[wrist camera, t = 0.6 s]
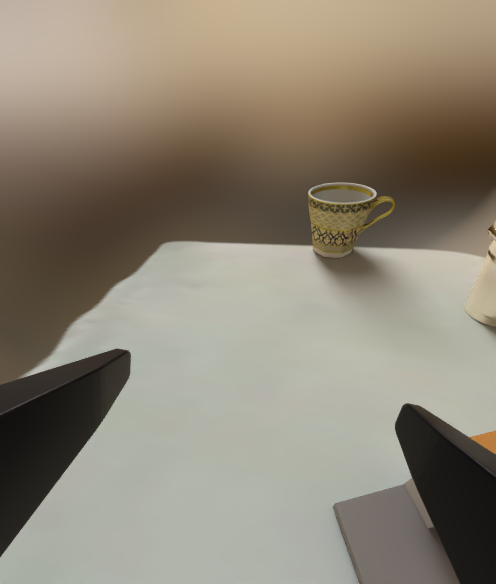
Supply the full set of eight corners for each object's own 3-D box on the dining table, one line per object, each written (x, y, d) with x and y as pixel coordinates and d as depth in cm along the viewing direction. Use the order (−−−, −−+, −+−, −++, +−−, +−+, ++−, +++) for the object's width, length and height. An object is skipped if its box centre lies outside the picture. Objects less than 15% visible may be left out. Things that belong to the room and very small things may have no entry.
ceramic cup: (300, 261, 41) (305, 202, 34) (306, 234, 48) (310, 182, 42) (384, 268, 37) (406, 204, 31) (376, 238, 45) (393, 182, 38)
